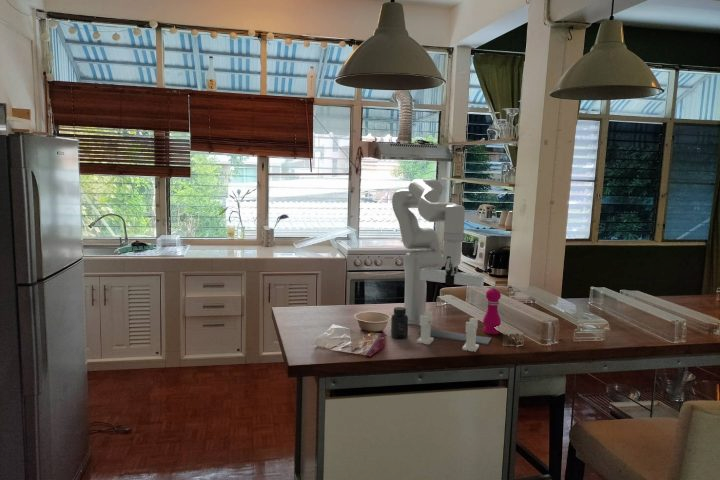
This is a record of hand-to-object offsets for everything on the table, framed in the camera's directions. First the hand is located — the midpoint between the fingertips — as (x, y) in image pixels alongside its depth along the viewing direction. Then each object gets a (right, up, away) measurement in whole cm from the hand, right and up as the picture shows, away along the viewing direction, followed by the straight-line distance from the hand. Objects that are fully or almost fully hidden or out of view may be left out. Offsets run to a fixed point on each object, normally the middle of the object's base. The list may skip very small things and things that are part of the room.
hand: (451, 283), depth 210 cm
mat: (+3, -23, +11) cm, 26 cm away
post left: (-9, -23, +5) cm, 26 cm away
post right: (+7, -25, -2) cm, 26 cm away
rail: (0, 0, 0) cm, 1 cm away
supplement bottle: (-19, -23, +9) cm, 31 cm away
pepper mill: (+20, -22, +19) cm, 35 cm away
